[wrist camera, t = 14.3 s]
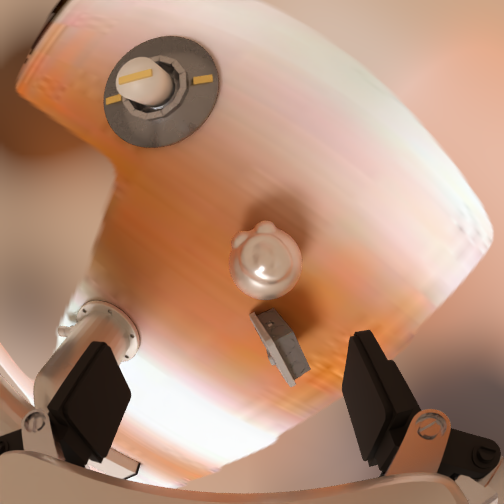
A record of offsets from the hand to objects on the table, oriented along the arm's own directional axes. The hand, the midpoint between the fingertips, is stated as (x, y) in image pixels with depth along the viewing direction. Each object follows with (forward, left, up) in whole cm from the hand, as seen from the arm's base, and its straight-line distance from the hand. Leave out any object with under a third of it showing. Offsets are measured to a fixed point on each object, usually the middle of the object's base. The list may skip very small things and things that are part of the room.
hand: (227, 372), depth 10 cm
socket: (-10, +18, -28) cm, 35 cm away
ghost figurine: (+2, -5, -28) cm, 29 cm away
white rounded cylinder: (-10, +18, -27) cm, 34 cm away
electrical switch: (+3, -18, -29) cm, 34 cm away
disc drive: (-53, -69, -29) cm, 92 cm away
